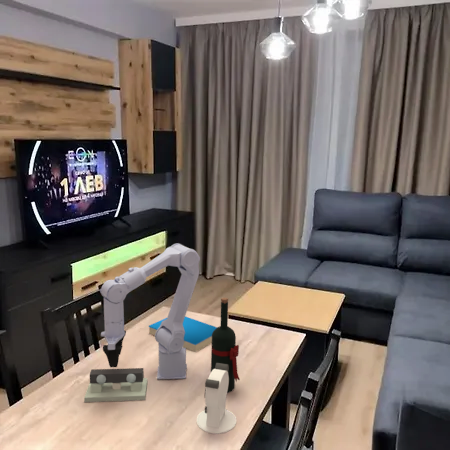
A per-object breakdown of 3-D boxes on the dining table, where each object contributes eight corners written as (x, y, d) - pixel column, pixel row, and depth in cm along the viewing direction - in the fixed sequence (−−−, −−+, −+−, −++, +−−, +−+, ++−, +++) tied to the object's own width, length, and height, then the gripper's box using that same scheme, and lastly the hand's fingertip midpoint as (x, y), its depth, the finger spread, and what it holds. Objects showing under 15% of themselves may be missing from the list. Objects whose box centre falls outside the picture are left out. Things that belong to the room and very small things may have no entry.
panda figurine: (204, 404, 134) (205, 358, 131) (241, 411, 132) (242, 364, 128) (190, 429, 123) (191, 379, 120) (230, 437, 120) (231, 387, 117)
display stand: (147, 382, 146) (147, 370, 145) (145, 400, 136) (144, 388, 135) (90, 383, 144) (90, 372, 143) (84, 402, 134) (83, 390, 133)
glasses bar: (143, 376, 141) (143, 368, 141) (142, 382, 138) (142, 374, 137) (91, 378, 140) (91, 369, 139) (89, 384, 136) (89, 375, 136)
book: (195, 344, 165) (148, 325, 179) (195, 354, 166) (148, 335, 180) (223, 328, 179) (176, 311, 193) (223, 338, 179) (176, 321, 194)
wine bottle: (229, 399, 137) (232, 307, 131) (205, 387, 144) (206, 298, 137) (245, 388, 143) (248, 300, 137) (221, 377, 149) (223, 292, 143)
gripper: (104, 310, 142) (105, 349, 145) (96, 330, 128) (98, 373, 131) (126, 309, 143) (127, 348, 146) (121, 329, 129) (122, 372, 132)
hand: (115, 360), depth 138 cm, fingers open, 7 cm apart
